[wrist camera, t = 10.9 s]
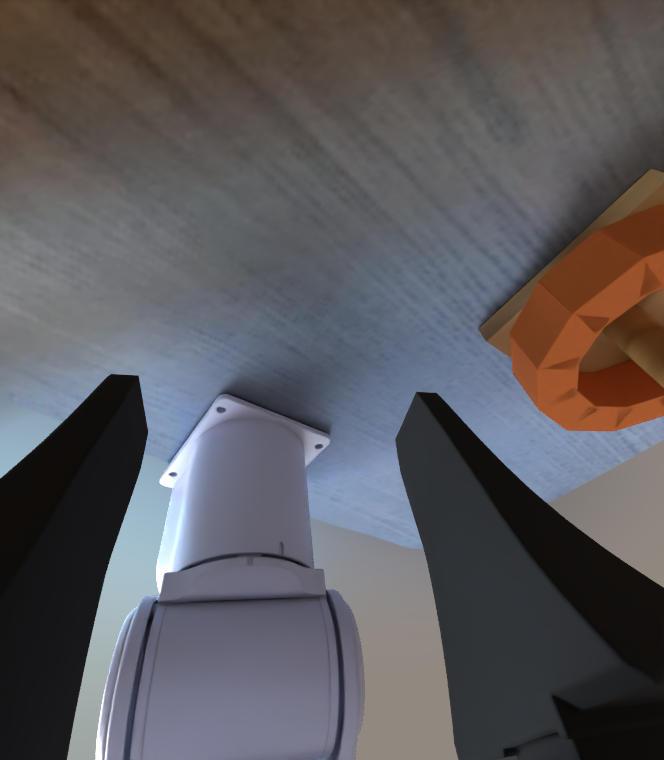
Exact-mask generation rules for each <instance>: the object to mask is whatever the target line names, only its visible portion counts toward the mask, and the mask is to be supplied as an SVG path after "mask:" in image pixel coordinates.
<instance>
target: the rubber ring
mask: <svg viewBox="0 0 664 760" xmlns="http://www.w3.org/2000/svg"><path fill="white" fill-rule="evenodd" d="M663 288H664V204H662V205H659V206H656V207H654V208H651V209H649V210H646V211H643V212H641V213H638V214H636V215H633V216H630V217H628V218H625V219H623V220H620V221H617V222H615V223H612V224H610V225H607V226H604V227H602V228H599V230H596V231H595V232H594V233H593V234H592V235H590V236H589V237H588V238H587V239H586V240H585V241H583V242H582V243H581V244H580V245H579V246H578V247H576V248H575V249H574V250H573V251H572V252H571V253H570V254H568V255H567V256H566V257H565V258H564V259H563V260H561V261H560V262H559V263H558V264H557V265H556V266H554V267H553V268H552V269H551V270H550V271H549V272H548V273H546V274H545V275H544V276H543V277H542V278H541V279H539V281H538V282H537V284H536V286H535V288H534V290H533V291H532V293H531V295H530V297H529V299H528V301H527V303H526V304H525V306H524V308H523V310H522V312H521V314H520V316H519V317H518V319H517V321H516V323H515V325H514V327H513V329H512V331H511V332H510V342H511V355H512V367H513V374H514V376H515V377H516V379H517V380H518V381H519V383H520V384H521V386H522V387H523V388H524V390H525V391H526V393H527V394H528V395H529V397H530V398H531V400H532V401H533V402H534V404H535V405H536V407H537V408H538V409H539V410H540V411H541V412H543V413H544V414H545V415H547V416H548V417H549V418H551V419H552V420H553V421H555V422H556V423H558V424H559V425H560V426H562V427H563V428H564V429H566V430H570V431H617V430H620V429H623V428H626V427H630V426H633V425H636V424H639V423H642V422H646V421H649V420H652V419H655V418H659V417H662V416H664V388H663V387H662V386H661V385H660V384H659V383H658V382H656V381H655V380H654V379H653V378H652V377H651V376H650V375H649V374H648V373H646V372H645V371H644V370H643V369H642V368H641V367H640V366H639V365H638V364H637V363H635V362H634V361H633V360H632V359H631V360H629V361H626V362H623V363H620V364H617V365H614V366H611V367H608V368H605V369H602V370H599V371H596V372H579V363H580V361H581V360H582V358H583V357H584V355H585V354H586V353H587V351H588V350H589V348H590V347H591V346H592V344H593V343H594V341H595V340H596V339H597V337H598V336H599V334H600V333H601V332H602V330H603V329H604V327H605V326H607V325H608V324H609V323H611V322H612V321H613V320H615V319H616V318H618V317H619V316H620V315H622V314H623V313H624V312H626V311H627V310H628V309H630V308H631V307H632V306H634V305H635V304H637V303H638V302H639V301H641V300H642V299H643V298H645V297H646V296H647V295H649V294H650V293H652V292H655V291H658V290H660V289H663Z"/></svg>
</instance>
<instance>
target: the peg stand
mask: <svg viewBox="0 0 664 760" xmlns="http://www.w3.org/2000/svg"><path fill="white" fill-rule="evenodd" d="M662 204H664V172H661V171H659V170H656V169H653V168H651V169H650V170H648V171H647V172H646V173H645V174H644V175H643V176H642V177H641V178H640V179H639V180H638V181H637V182H636V183H635V184H633V185H632V186H631V187H630V188H629V189H628V190H627V191H626V192H625V193H624V194H623V195H622V196H621V197H619V198H618V199H617V200H616V201H615V202H614V203H613V204H612V205H611V206H610V207H609V208H608V209H607V210H606V211H604V212H603V213H602V214H601V215H600V216H599V217H598V218H597V219H596V220H595V221H594V222H593V223H592V224H591V225H589V226H588V227H587V228H586V229H585V230H584V231H583V232H582V233H581V234H580V235H579V236H578V237H577V238H575V239H574V240H573V241H572V242H571V243H570V244H569V245H568V246H567V247H566V248H565V249H564V250H563V251H562V252H560V253H559V254H558V255H557V256H556V257H555V258H554V259H553V260H552V261H551V262H550V263H549V264H548V265H546V266H545V267H544V268H543V269H542V270H541V271H540V272H539V273H538V274H537V275H536V276H535V277H534V278H533V279H531V280H530V281H529V282H528V283H527V284H526V285H525V286H524V287H523V288H522V289H521V290H520V291H519V292H517V293H516V294H515V295H514V296H513V297H512V298H511V299H510V300H509V301H508V302H507V303H506V304H505V305H504V306H502V307H501V308H500V309H499V310H498V311H497V312H496V313H495V314H494V315H493V316H492V317H491V318H490V319H488V320H487V321H486V322H485V323H484V324H483V325H482V326H481V327H480V328H479V329H478V330H479V332H480V333H481V335H482V336H483V337H484V339H485V340H486V342H488V343H489V344H491V345H492V346H494V347H495V348H496V349H498V350H499V351H501V352H502V353H504V354H505V355H507V356H508V357H509V358H511V359H512V355H511V342H510V332H511V331H512V329H513V327H514V325H515V323H516V321H517V319H518V317H519V316H520V314H521V312H522V310H523V308H524V306H525V304H526V303H527V301H528V299H529V297H530V295H531V293H532V291H533V290H534V288H535V286H536V284H537V282H538V281H539V279H541V278H542V277H543V276H544V275H545V274H546V273H548V272H549V271H550V270H551V269H552V268H553V267H554V266H556V265H557V264H558V263H559V262H560V261H561V260H563V259H564V258H565V257H566V256H567V255H568V254H570V253H571V252H572V251H573V250H574V249H575V248H576V247H578V246H579V245H580V244H581V243H582V242H583V241H585V240H586V239H587V238H588V237H589V236H590V235H592V234H593V233H594V232H595V231H596V230H599V228H602V227H604V226H607V225H610V224H612V223H615V222H617V221H620V220H623V219H625V218H628V217H630V216H633V215H636V214H638V213H641V212H643V211H646V210H649V209H651V208H654V207H656V206H659V205H662ZM631 359H632V360H633V361H634V362H635V363H637V364H638V365H639V366H640V367H641V368H642V369H643V370H644V371H645V372H646V373H648V374H649V375H650V376H651V377H652V378H653V379H654V380H655V381H656V382H658V383H659V384H660V385H661V386H662V387H663V388H664V288H663V289H660V290H658V291H655V292H652V293H650V294H649V295H647V296H646V297H645V298H643V299H642V300H641V301H639V302H638V303H637V304H635V305H634V306H632V307H631V308H630V309H628V310H627V311H626V312H624V313H623V314H622V315H620V316H619V317H618V318H616V319H615V320H613V321H612V322H611V323H609V324H608V325H607V326H605V327H604V329H603V330H602V332H601V333H600V334H599V336H598V337H597V339H596V340H595V341H594V343H593V344H592V346H591V347H590V348H589V350H588V351H587V353H586V354H585V355H584V357H583V358H582V360H581V361H580V363H579V372H596V371H599V370H602V369H605V368H608V367H611V366H614V365H617V364H620V363H623V362H626V361H629V360H631Z"/></svg>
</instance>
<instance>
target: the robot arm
mask: <svg viewBox="0 0 664 760" xmlns="http://www.w3.org/2000/svg"><path fill="white" fill-rule="evenodd" d="M219 407H224V408H219ZM147 435H148V428H147V423H146V417H145V411H144V405H143V399H142V394H141V388H140V382H139V376H134V375H116V374H111V375H109V376H108V377H107V378H106V379H105V380H104V381H103V382H102V383H101V384H100V385H99V386H98V387H97V388H96V389H95V390H94V391H93V392H92V393H91V394H90V395H89V396H88V397H87V399H86V400H85V401H84V402H83V403H82V404H81V405H80V406H79V407H78V408H77V409H76V410H75V411H74V412H73V413H72V414H71V415H70V416H69V417H68V418H67V419H66V420H65V421H64V422H63V423H61V425H59V426H58V427H57V428H56V429H55V430H54V431H53V432H52V433H51V434H50V435H49V436H48V437H47V438H46V439H45V440H44V441H43V442H42V443H41V444H39V445H38V446H37V447H36V448H35V449H34V450H33V451H32V452H31V453H29V454H28V455H27V456H26V457H25V458H24V459H22V460H21V461H20V462H19V463H18V464H17V465H16V466H14V467H13V468H12V469H11V470H10V471H9V472H8V473H7V474H5V475H4V476H3V477H2V478H0V760H67V755H68V750H69V744H70V738H71V733H72V727H73V722H74V717H75V711H76V707H77V702H78V697H79V692H80V687H81V682H82V677H83V672H84V667H85V662H86V657H87V653H88V648H89V644H90V639H91V635H92V630H93V626H94V621H95V617H96V612H97V608H98V603H99V599H100V595H101V591H102V587H103V583H104V578H105V574H106V571H107V568H108V564H109V561H110V557H111V554H112V551H113V548H114V545H115V543H116V540H117V536H118V534H119V531H120V528H121V525H122V522H123V519H124V516H125V513H126V511H127V508H128V505H129V502H130V499H131V496H132V493H133V490H134V487H135V484H136V481H137V478H138V475H139V472H140V469H141V464H142V460H143V455H144V450H145V445H146V440H147ZM395 440H396V447H397V454H398V460H399V466H400V471H401V475H402V479H403V482H404V485H405V489H406V492H407V495H408V499H409V502H410V505H411V509H412V512H413V515H414V518H415V522H416V525H417V528H418V531H419V535H420V538H421V541H422V544H423V548H424V552H425V555H426V559H427V563H428V568H429V573H430V578H431V582H432V588H433V593H434V598H435V604H436V609H437V615H438V621H439V626H440V632H441V638H442V645H443V651H444V659H445V666H446V673H447V679H448V688H449V697H450V706H451V714H452V723H453V734H454V744H455V747H456V752H457V756H458V759H459V760H664V588H663V587H662V586H660V585H659V584H657V583H655V582H654V581H652V580H651V579H649V578H648V577H646V576H645V575H643V574H642V573H640V572H639V571H637V570H636V569H634V568H633V567H631V566H630V565H628V564H627V563H625V562H624V561H622V560H621V559H619V558H618V557H616V556H615V555H613V554H612V553H611V552H609V551H608V550H606V549H605V548H603V547H602V546H600V545H599V544H598V543H597V542H595V541H594V540H593V539H591V538H590V537H589V536H587V535H586V534H584V533H583V532H582V531H581V530H579V529H578V528H577V527H575V526H574V525H573V524H571V523H570V522H569V521H568V520H566V519H565V518H564V517H563V516H561V515H560V514H559V513H558V512H557V511H555V510H554V509H553V508H552V507H551V506H549V505H548V504H547V503H546V502H545V501H544V500H542V499H541V498H540V497H539V496H538V495H536V494H535V493H534V492H533V491H532V490H531V489H530V488H529V487H527V486H526V485H525V484H524V483H523V482H522V481H521V480H520V479H519V478H518V477H517V476H516V475H515V474H514V473H513V472H512V471H511V470H510V469H508V468H507V467H506V466H505V465H504V464H503V463H502V462H501V461H500V460H499V459H498V458H497V457H496V456H495V455H494V454H493V453H492V452H491V450H490V449H489V448H488V447H487V446H486V445H485V444H484V443H483V442H482V441H481V440H480V439H479V438H478V437H477V436H476V435H475V434H474V433H473V431H472V430H471V429H470V428H469V427H468V426H467V425H466V424H465V423H464V422H463V421H462V419H461V418H460V417H459V416H458V415H457V414H456V413H455V412H454V411H453V410H452V409H451V407H450V406H449V405H448V404H447V403H446V402H445V401H444V400H443V399H442V398H441V397H440V396H439V395H438V394H437V393H426V392H416V394H415V396H414V399H413V401H412V403H411V405H410V408H409V410H408V412H407V414H406V417H405V419H404V421H403V423H402V426H401V428H400V430H399V433H398V435H397V437H396V439H395ZM330 442H331V439H330V435H329V434H327V433H324V432H322V431H319V430H317V429H314V428H312V427H309V426H307V425H304V424H302V423H299V422H297V421H294V420H292V419H289V418H287V417H284V416H282V415H279V414H277V413H274V412H271V411H269V410H266V409H264V408H261V407H259V406H256V405H254V404H251V403H249V402H246V401H244V400H241V399H239V398H236V397H234V396H231V395H228V394H222V395H219V396H218V397H217V398H216V400H215V401H214V403H213V404H212V405H211V407H210V408H209V410H208V411H207V412H206V414H205V415H204V417H203V418H202V419H201V421H200V422H199V424H198V425H197V426H196V428H195V429H194V431H193V432H192V433H191V435H190V436H189V437H188V439H187V440H186V442H185V443H184V444H183V446H182V447H181V449H180V450H179V451H178V453H177V454H176V456H175V457H174V458H173V460H172V461H171V463H170V464H169V466H168V467H167V468H166V470H165V471H164V472H163V474H162V475H161V477H160V481H159V482H160V483H161V484H162V485H163V486H167V487H171V488H173V491H172V495H171V499H170V505H169V509H168V514H167V519H166V523H165V528H164V533H163V538H162V543H161V547H160V552H159V557H158V562H157V570H156V579H157V585H158V589H159V592H160V595H159V597H158V596H146V597H145V598H143V599H142V600H141V601H140V603H139V605H137V606H136V607H135V609H133V610H132V611H131V612H130V613H129V614H128V616H127V617H126V619H125V621H124V624H123V626H122V629H121V631H120V634H119V637H118V640H117V643H116V647H115V650H114V653H113V657H112V661H111V665H110V669H109V673H108V678H107V682H106V687H105V691H104V697H103V702H102V707H101V713H100V720H99V727H98V736H97V746H96V760H355V758H356V747H357V741H358V736H359V733H360V730H361V726H362V722H363V715H364V701H365V684H364V683H365V682H364V666H363V656H362V649H361V642H360V637H359V632H358V628H357V624H356V621H355V618H354V615H353V613H352V611H351V609H350V607H349V606H348V604H347V603H346V602H345V601H344V600H343V598H342V596H341V595H340V594H339V593H338V591H335V590H326V588H325V579H324V570H323V569H314V561H313V549H312V538H311V526H310V514H309V502H308V491H307V479H306V466H307V465H308V464H309V463H310V462H311V461H312V460H313V459H314V458H315V457H316V456H318V455H319V454H320V453H321V452H322V451H323V450H324V449H325V448H326V447H327V446H328V445H329V444H330Z"/></svg>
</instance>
